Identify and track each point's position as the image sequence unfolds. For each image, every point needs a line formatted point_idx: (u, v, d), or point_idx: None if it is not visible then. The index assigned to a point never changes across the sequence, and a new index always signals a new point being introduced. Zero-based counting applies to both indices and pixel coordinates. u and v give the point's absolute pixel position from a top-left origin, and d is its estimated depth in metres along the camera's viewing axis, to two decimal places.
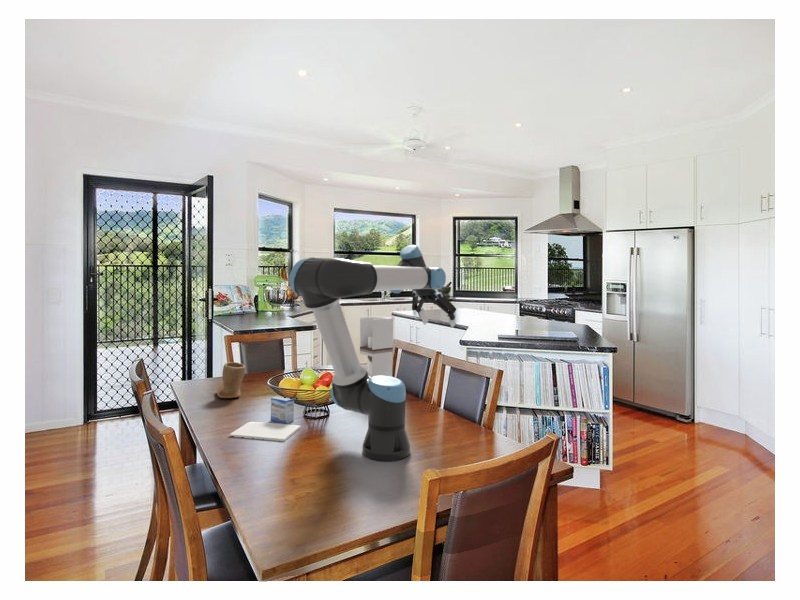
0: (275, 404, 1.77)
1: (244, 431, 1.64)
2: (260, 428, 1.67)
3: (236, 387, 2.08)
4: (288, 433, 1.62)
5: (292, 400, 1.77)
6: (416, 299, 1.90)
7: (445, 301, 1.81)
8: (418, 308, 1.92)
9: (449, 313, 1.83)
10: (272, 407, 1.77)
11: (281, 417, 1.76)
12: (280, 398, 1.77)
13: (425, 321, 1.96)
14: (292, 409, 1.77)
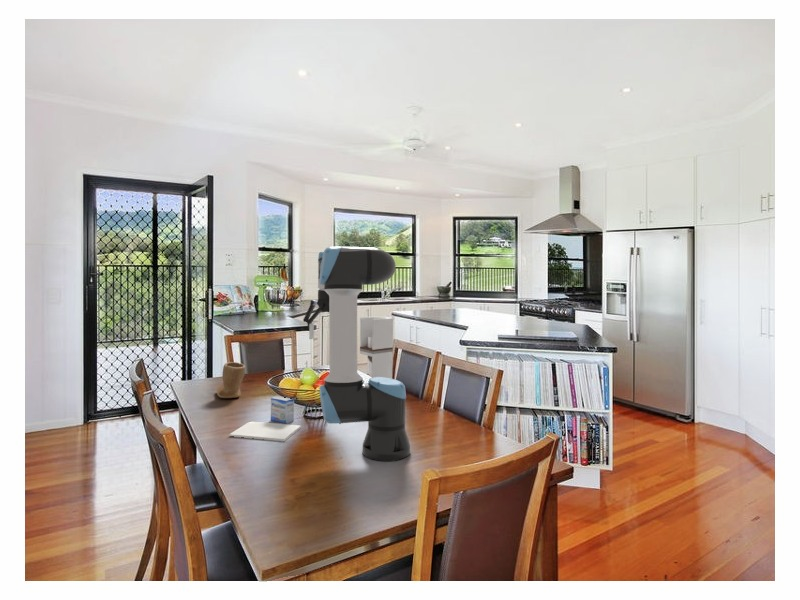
0: (275, 404, 1.77)
1: (244, 431, 1.64)
2: (260, 428, 1.67)
3: (236, 387, 2.08)
4: (288, 433, 1.62)
5: (292, 400, 1.77)
6: (312, 309, 1.97)
7: None
8: (311, 319, 1.96)
9: None
10: (272, 407, 1.77)
11: (281, 417, 1.76)
12: (280, 398, 1.77)
13: (311, 336, 1.98)
14: (292, 409, 1.77)
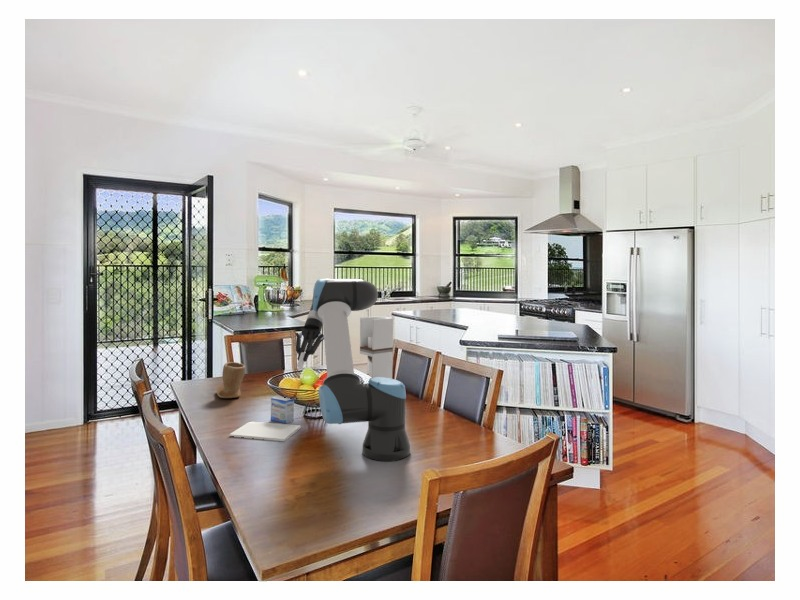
0: (275, 404, 1.77)
1: (244, 431, 1.64)
2: (260, 428, 1.67)
3: (236, 387, 2.08)
4: (288, 433, 1.62)
5: (292, 400, 1.77)
6: (299, 340, 2.03)
7: (318, 342, 2.01)
8: (302, 347, 1.99)
9: (307, 351, 1.97)
10: (272, 407, 1.77)
11: (281, 417, 1.76)
12: (280, 398, 1.77)
13: None
14: (292, 409, 1.77)
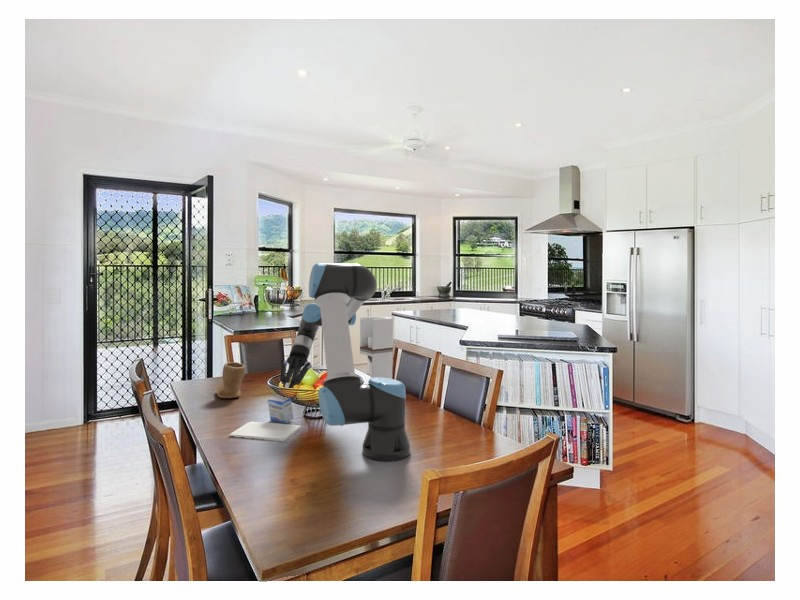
0: (273, 405, 1.76)
1: (244, 431, 1.64)
2: (260, 428, 1.67)
3: (236, 387, 2.08)
4: (288, 433, 1.62)
5: (289, 400, 1.76)
6: (285, 369, 1.89)
7: (304, 371, 1.87)
8: (286, 377, 1.85)
9: (292, 381, 1.83)
10: (270, 408, 1.77)
11: (280, 417, 1.75)
12: (277, 399, 1.76)
13: None
14: (290, 408, 1.76)
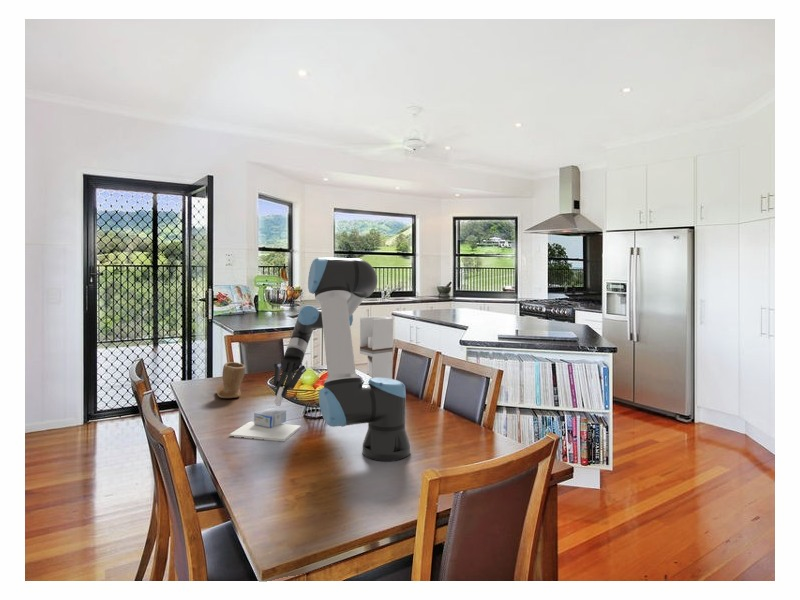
0: None
1: (244, 431, 1.64)
2: (260, 428, 1.67)
3: (236, 387, 2.08)
4: (288, 433, 1.62)
5: (271, 418, 1.67)
6: (278, 373, 1.83)
7: (299, 375, 1.81)
8: (280, 381, 1.79)
9: (286, 385, 1.77)
10: None
11: None
12: (261, 422, 1.69)
13: None
14: (278, 416, 1.70)
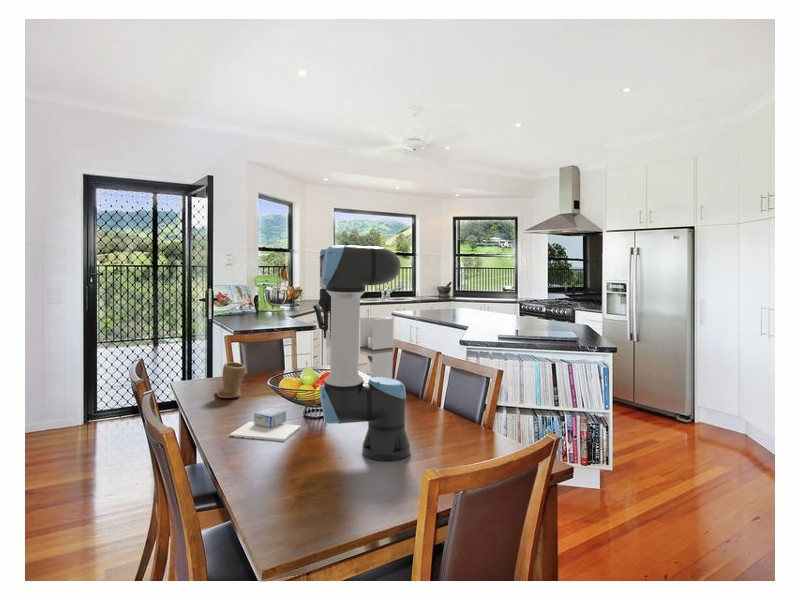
0: None
1: (244, 431, 1.64)
2: (260, 428, 1.67)
3: (236, 387, 2.08)
4: (288, 433, 1.62)
5: (271, 418, 1.67)
6: (320, 313, 1.89)
7: None
8: (324, 324, 1.87)
9: None
10: None
11: None
12: (261, 422, 1.69)
13: None
14: (278, 416, 1.70)
